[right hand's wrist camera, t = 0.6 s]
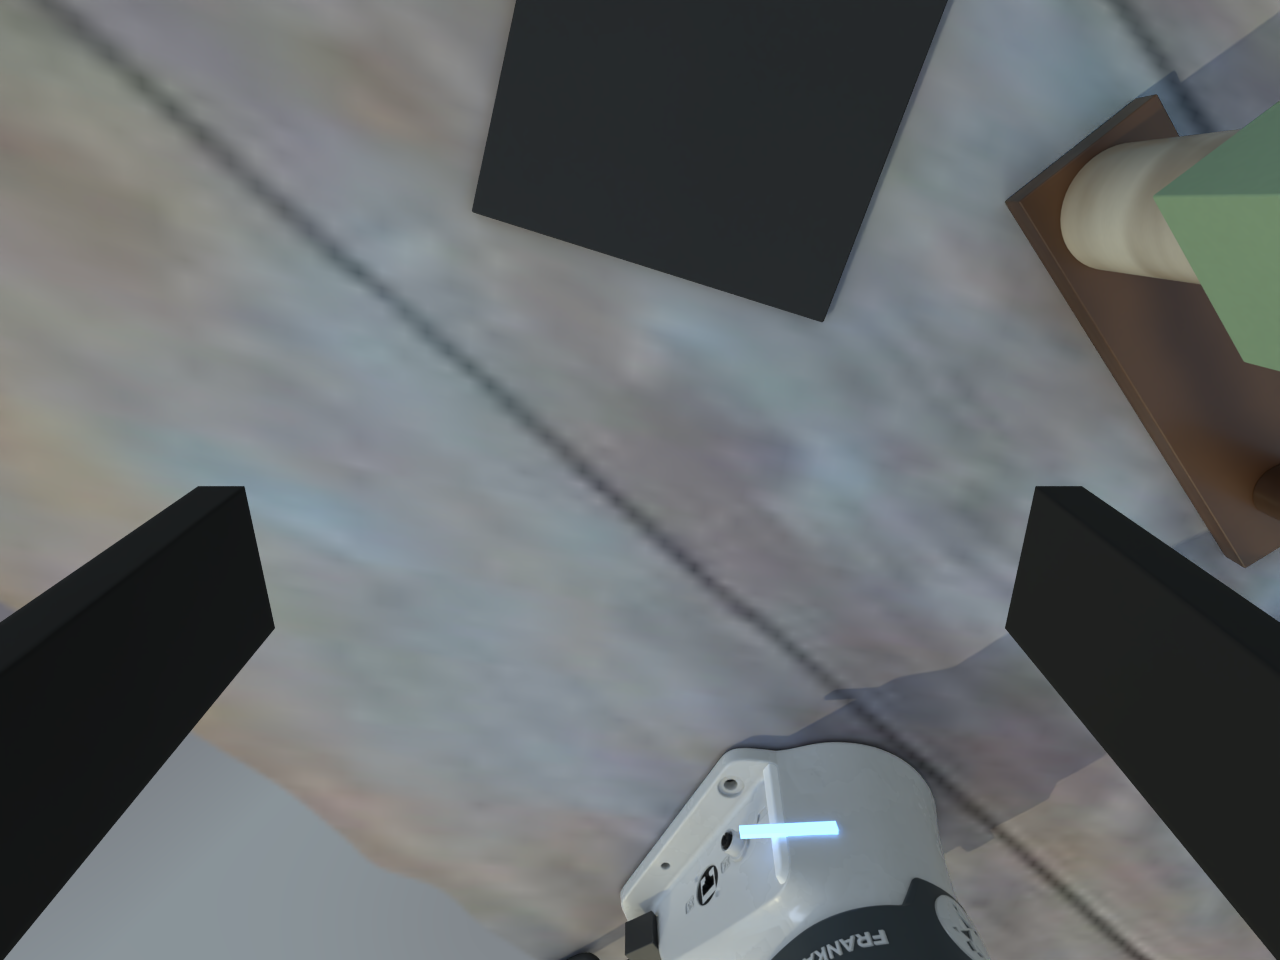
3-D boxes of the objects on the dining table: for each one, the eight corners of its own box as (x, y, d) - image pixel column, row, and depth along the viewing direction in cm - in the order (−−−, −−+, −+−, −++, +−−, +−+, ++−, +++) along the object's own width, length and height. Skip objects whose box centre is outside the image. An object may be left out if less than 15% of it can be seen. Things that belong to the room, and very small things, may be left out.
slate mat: (570, -245, 30) (569, -254, 29) (977, -87, 32) (983, -92, 31) (474, 211, 36) (471, 211, 35) (820, 320, 38) (823, 322, 37)
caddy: (1136, 97, 34) (1366, 49, 23) (1343, 483, 41) (1595, 583, 30) (1003, 201, 36) (1162, 202, 25) (1225, 556, 43) (1424, 676, 32)
